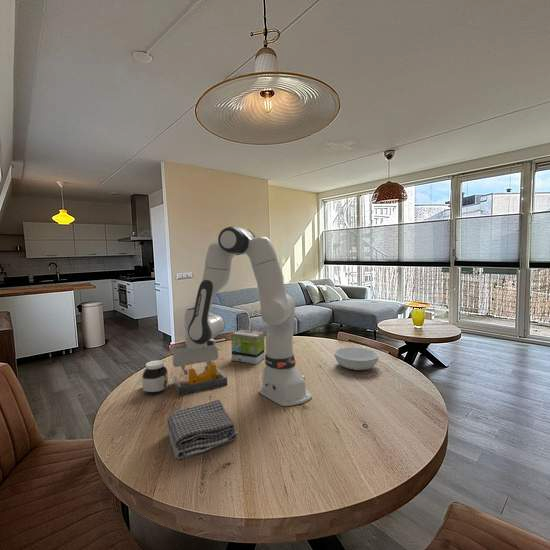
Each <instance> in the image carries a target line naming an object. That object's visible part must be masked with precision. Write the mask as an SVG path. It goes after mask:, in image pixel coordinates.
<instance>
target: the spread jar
mask: <svg viewBox="0 0 550 550" xmlns="http://www.w3.org/2000/svg"><path fill="white" fill-rule="evenodd" d="M164 365H165V363H164V361H163V360H151V361H149V362H146V363H145V370H144V372H143V373H142V377H141V380H140V381H141V386H142V391H143V392H144V393H146V394H147V395H151V394H154V395H159V394H162V393H163V392H164V391H166V388H168V387H167V386H168V385H169V384H168V383H169V381H168V380H169V377H168V376H169V374H168V372H169V371H168V369H167V366H164ZM158 393H159V394H158Z"/></svg>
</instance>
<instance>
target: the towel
mask: <svg viewBox="0 0 550 550" xmlns="http://www.w3.org/2000/svg"><path fill="white" fill-rule="evenodd" d="M166 418H167V425H168V426H167V435H168V438H169V440H170V444H171V447H172V451H173V453H174V457H175V460H183V459H187V458H190V457H192V456H196V455H198V454H202V453H205V452H207V451H209V450H211V449H213V448H216V447H218V446H221V445H224V444H226V443H230V442H234V441H235V440H237V438H238V432H237V431H236V428H235V424H234V422H233V420H232V419H231V417H230V416H229V415H228V414H227V412H226V409H225V407H224V405H223V403H222V402H221V400H220V399H215V400H212V401H209V402H206V403H202V404H198V405H193V406H191V407H187V408H184V409H179V410H176V411H173V412H172V413H171V414H170V415H169V416H168V417H166Z"/></svg>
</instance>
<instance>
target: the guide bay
mask: <svg viewBox="0 0 550 550" xmlns="http://www.w3.org/2000/svg"><path fill="white" fill-rule="evenodd" d="M216 375H217V378H215V379H212V380H209V381H206V382H201V383H196V384H192V385H190V384H187V385H183V386H181V384H180V382H179V380H178V378H177V376H172V377H173V378H172V379H173V380H172V381H173V385H174V388H175V387H176V388H175V389H177V390H176V392H177V393H178V396H179V395H180V396H183V394H184V395H188V393H189V394H193V393H197V392H201V391H206V390H209V389H210V390H211V389H214V388H219V387H220V388H221V387H223V386H227V385H228V377H227V376H226V375H225V374H224V372H223V371H222V370H221V369H220V368H218V367H216ZM192 392H193V393H192Z"/></svg>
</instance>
